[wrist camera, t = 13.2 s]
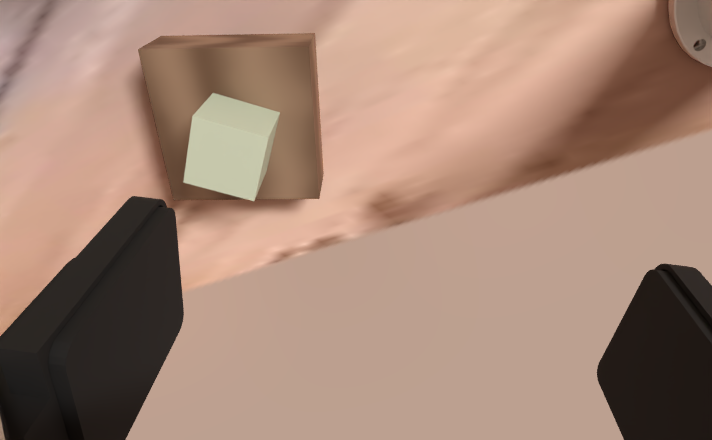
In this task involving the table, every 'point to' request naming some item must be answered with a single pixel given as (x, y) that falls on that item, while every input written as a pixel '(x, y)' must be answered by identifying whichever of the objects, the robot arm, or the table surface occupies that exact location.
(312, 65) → the walnut block
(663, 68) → the table surface
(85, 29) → the table surface
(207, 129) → the cream cube
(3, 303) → the table surface
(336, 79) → the table surface
